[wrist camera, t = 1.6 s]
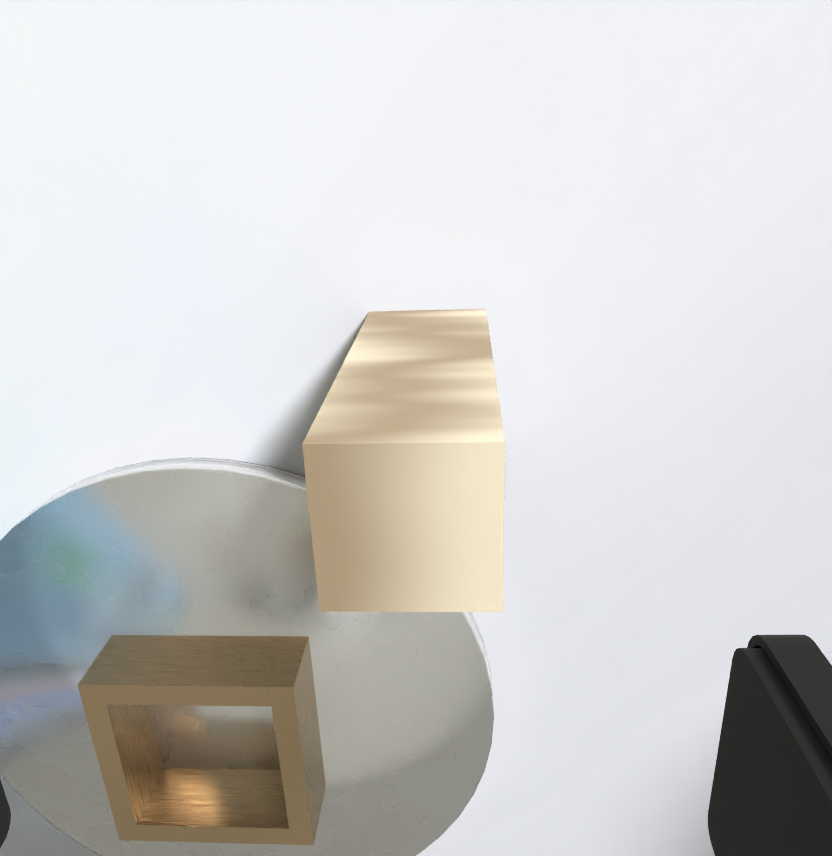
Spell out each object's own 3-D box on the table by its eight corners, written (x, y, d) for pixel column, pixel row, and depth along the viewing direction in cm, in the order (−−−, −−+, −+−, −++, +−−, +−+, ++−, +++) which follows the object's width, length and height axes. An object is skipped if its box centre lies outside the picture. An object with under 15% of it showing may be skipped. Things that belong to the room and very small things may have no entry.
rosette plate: (493, 454, 23) (498, 506, 20) (492, 881, 31) (495, 968, 28) (-96, 460, 25) (-180, 510, 21) (41, 868, 32) (-6, 950, 29)
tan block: (485, 308, 22) (504, 442, 12) (485, 418, 23) (502, 611, 14) (368, 312, 22) (301, 444, 13) (375, 419, 23) (319, 611, 14)
